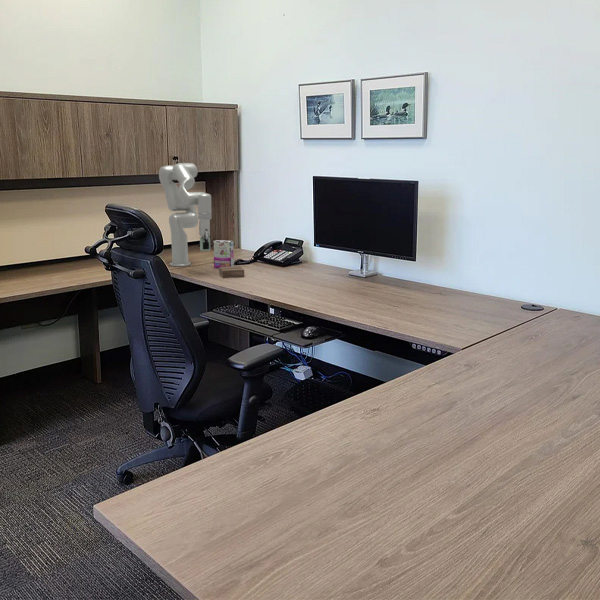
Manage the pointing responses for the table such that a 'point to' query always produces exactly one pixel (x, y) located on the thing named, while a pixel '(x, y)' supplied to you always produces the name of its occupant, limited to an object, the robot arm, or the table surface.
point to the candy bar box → (223, 253)
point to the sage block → (202, 244)
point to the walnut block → (231, 271)
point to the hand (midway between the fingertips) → (205, 247)
